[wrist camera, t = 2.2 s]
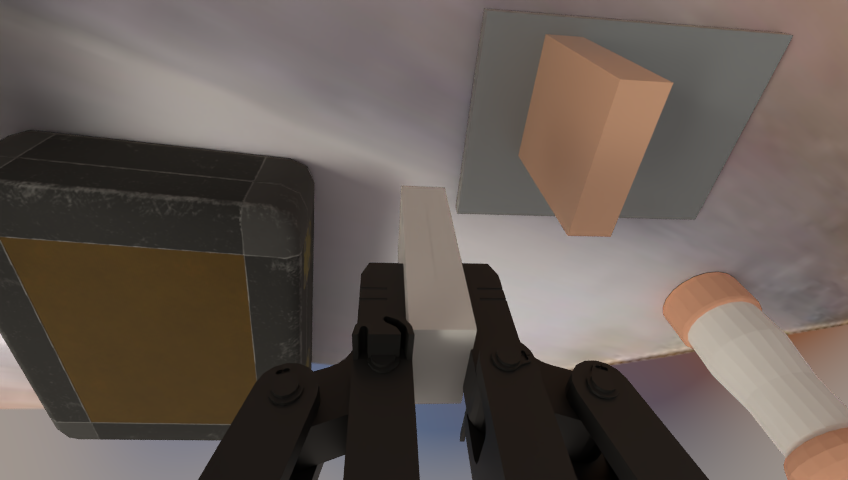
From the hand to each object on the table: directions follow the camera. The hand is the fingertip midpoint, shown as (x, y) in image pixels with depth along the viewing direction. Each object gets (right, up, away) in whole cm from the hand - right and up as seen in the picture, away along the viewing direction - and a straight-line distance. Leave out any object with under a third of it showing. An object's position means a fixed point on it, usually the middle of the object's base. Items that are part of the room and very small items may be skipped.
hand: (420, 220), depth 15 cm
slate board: (+13, +7, +16) cm, 22 cm away
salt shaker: (+28, -7, +27) cm, 39 cm away
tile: (+8, +9, +13) cm, 18 cm away
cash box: (-20, -4, +21) cm, 29 cm away
